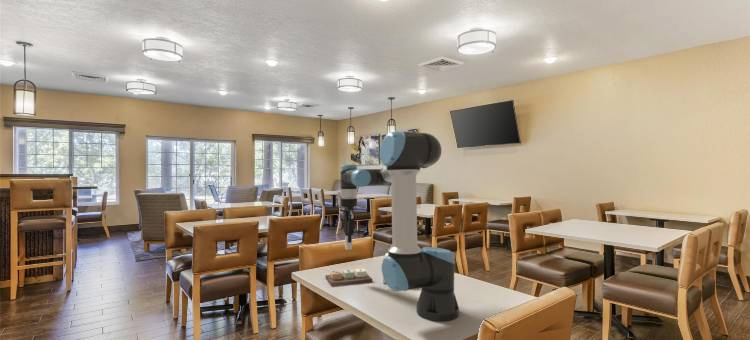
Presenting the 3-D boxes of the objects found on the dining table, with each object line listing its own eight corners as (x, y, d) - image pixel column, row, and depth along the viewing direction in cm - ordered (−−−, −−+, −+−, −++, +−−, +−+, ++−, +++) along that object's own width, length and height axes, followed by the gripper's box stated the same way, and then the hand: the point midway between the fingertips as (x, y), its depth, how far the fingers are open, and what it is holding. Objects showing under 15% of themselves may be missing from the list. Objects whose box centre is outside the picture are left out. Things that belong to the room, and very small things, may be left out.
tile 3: (342, 278, 169) (342, 272, 169) (332, 279, 168) (332, 273, 168) (339, 276, 174) (339, 270, 174) (330, 276, 172) (330, 271, 172)
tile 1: (366, 276, 173) (366, 270, 173) (357, 277, 172) (357, 271, 172) (363, 273, 177) (363, 268, 177) (354, 274, 176) (354, 268, 176)
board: (372, 281, 170) (372, 278, 170) (331, 286, 164) (331, 282, 164) (364, 274, 182) (364, 271, 181) (325, 278, 175) (325, 275, 175)
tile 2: (354, 277, 171) (354, 271, 171) (344, 278, 170) (345, 272, 170) (351, 274, 176) (351, 269, 176) (342, 275, 174) (342, 270, 174)
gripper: (360, 199, 167) (360, 251, 167) (352, 196, 180) (352, 245, 180) (344, 199, 165) (344, 253, 165) (337, 196, 177) (337, 246, 178)
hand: (348, 249), depth 173 cm, fingers closed
